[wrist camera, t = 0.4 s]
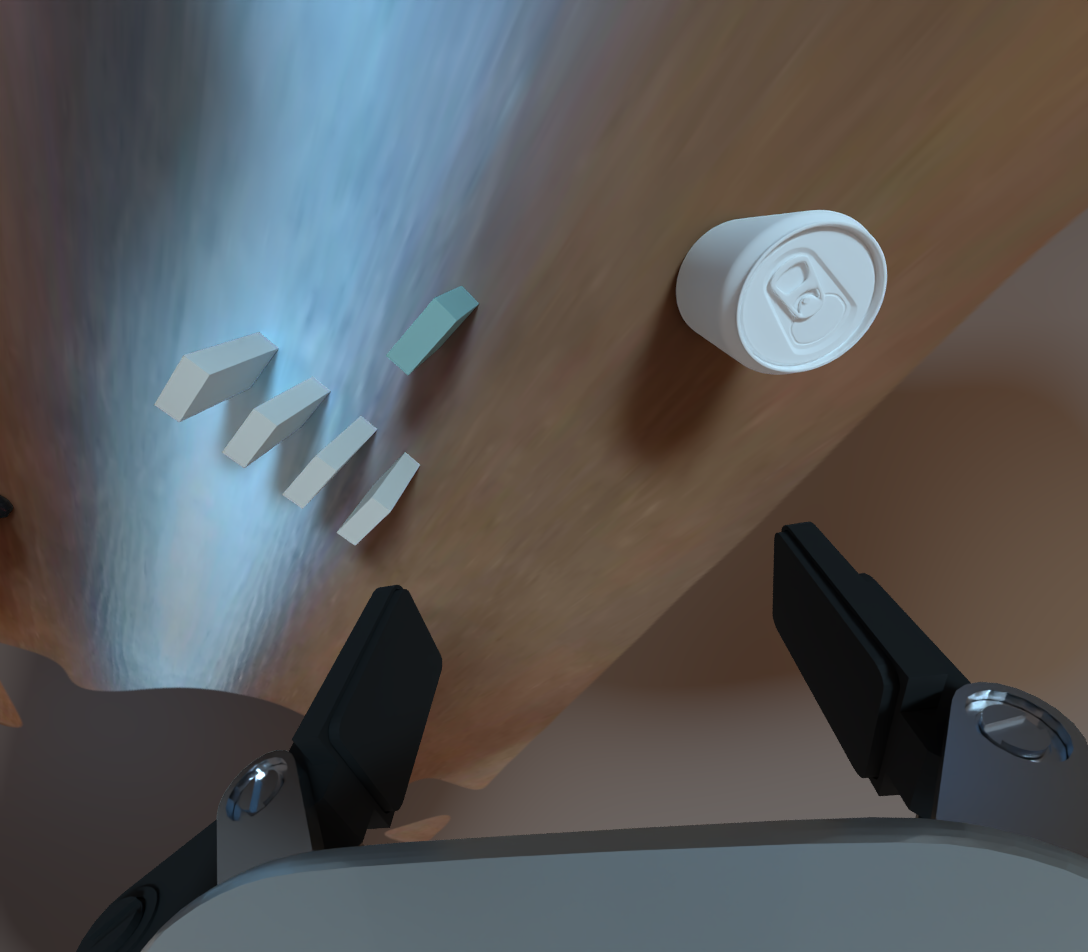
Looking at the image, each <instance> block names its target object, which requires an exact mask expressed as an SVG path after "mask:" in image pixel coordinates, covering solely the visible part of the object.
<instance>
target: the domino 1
mask: <svg viewBox="0 0 1088 952" xmlns="http://www.w3.org/2000/svg"><path fill="white" fill-rule="evenodd" d="M277 350H278V347H277V346H276V345H274V344H273V343H272V342H271V341H269V340H268V339H267V338H266V337H265V336H263V335H262V334H261V333H260V332H257V333H254V334H251V335H247V336H244V337H241V338H238V339H234V340H231V341H228V342H225V343H221V344H218V345H215V346H212V347H209V348H205V349H202V350H199V351H196V352H192V353H189V354H186V355H183V357H182V359H181V360H180V362H179V364H178V366H177V367H176V369H175V371H174V372H173V374H172V376H171V377H170V379H169V381H168V382H167V384H166V386H165V387H164V389H163V391H162V393H161V394H160V396H159V398H158V399H157V401H156V403H155V404H154V405H155V406H157V407H158V408H159V409H161V410H162V411H164V412H165V413H167V414H168V415H169V416H171V417H172V418H174V419H175V420H177V421H178V422H181V421H183V420H185V419H187V418H189V417H191V416H193V415H196V414H198V413H200V412H202V411H204V410H206V409H208V408H210V407H212V406H214V405H216V404H218V403H220V402H223V401H225V400H227V399H229V398H231V397H233V396H235V395H237V394H239V393H241V392H243V391H245V390H248V389H250V388H251V387H252V385H253V384H254V383H255V381H256V380H257V378H258V377H259V375H260V374H261V373H262V371H263V370H264V368H265V367H266V365H267V364H268V363H269V361H270V360H271V358H272V357H273V355H274V354H275V353H276V351H277Z"/></svg>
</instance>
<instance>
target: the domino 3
mask: <svg viewBox="0 0 1088 952" xmlns="http://www.w3.org/2000/svg"><path fill="white" fill-rule="evenodd" d="M376 430H377V429H376V428H375V427H374V426H373V425H371V424H370V423H369V422H368V421H366V420H365V419H364V418H363V417H362V416H360V417H359V418H358V419H357V420H356V421H354V422H353V423H352V424H351V425H350V426H349V427H348V428H346V429H345V430H344V431H343V432H342V433H341V434H340V435H338V436H337V437H336V438H335V439H334V440H333V441H332V442H330V443H329V444H328V445H327V446H326V447H325V448H324V449H323V450H321V451H320V452H319V453H318V454H317V455H316V456H315V457H314V458H313V459H312V460H311V462H310V463H309V464H308V465H307V466H306V467H305V469H304V470H303V471H302V472H301V473H300V474H299V476H298V477H297V478H296V479H295V480H294V481H293V483H292V484H291V485H290V486H289V487H288V488H287V490H286V491H285V492H284V493H283V494H282V495H283V496H285V497H286V498H288V499H289V500H291V501H292V502H293V503H295V504H296V505H298V506H299V507H301V508H302V509H303V508H304V507H305V506H306V505H307V504H308V503H309V502H310V501H311V499H312V498H313V497H314V496H315V495H316V494H317V493H318V492H319V491H320V490H321V489H322V488H323V487H324V486H325V485H326V484H327V483H328V482H329V481H330V480H331V479H332V478H333V477H334V476H335V475H336V474H337V473H338V471H339V470H340V469H341V468H342V467H343V466H344V465H345V464H346V463H347V462H348V461H349V460H350V459H351V458H352V457H353V456H354V454H355V453H356V452H357V451H358V450H359V449H360V448H361V447H362V446H363V445H364V443H365V442H366V441H367V440H368V439H369V438H370V437H371V436H372V435H373V434H374V433H375V431H376Z"/></svg>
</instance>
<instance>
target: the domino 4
mask: <svg viewBox="0 0 1088 952" xmlns="http://www.w3.org/2000/svg"><path fill="white" fill-rule="evenodd" d="M419 466H420V464H419V463H418V462H416V461H415V460H414V459H413V458H412V457H410V456H409V455H408V454H407V453H404V454H403V455H402V456H401V457H400V458H399V459H398V460H397V461H396V462H395V463H394V464H393V465H392V466H391V467H390V468H389V469H388V470H387V471H386V472H385V473H384V474H383V475H382V476H381V477H380V479H379V480H378V481H377V482H376V483H375V484H374V485H373V486H372V487H371V489H370V490H369V491H368V493H367V494H366V495H365V497H364V498H363V499H362V500H361V502H360V503H359V504H358V506H357V507H356V508H355V510H354V511H353V512H352V513H351V515H350V516H349V517H348V519H347V520H346V521H345V522H344V524H343V525H342V526H341V528H340V529H339V530H338V532H337V533H338V534H339V535H341V536H342V537H344V538H345V539H346V540H348V541H349V542H351V543H352V544H354V545H356V544H357V543H358V542H359V541H360V540H362V539H363V538H364V537H365V536H366V535H367V534H368V533H369V532H370V531H371V530H372V529H373V528H374V527H375V526H376V525H377V524H378V523H379V522H380V521H381V520H382V519H383V518H385V517H386V516H387V515H388V514H389V513H390V512H391V510H392V509H393V507H394V506H395V504H396V502H397V501H398V499H399V498H400V496H401V495H402V493H403V491H404V490H405V488H406V487H407V485H408V483H409V482H410V480H411V479H412V477H413V476H414V474H415V472H416V471H417V469H418V468H419Z"/></svg>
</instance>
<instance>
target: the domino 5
mask: <svg viewBox="0 0 1088 952" xmlns="http://www.w3.org/2000/svg"><path fill="white" fill-rule="evenodd" d="M478 304H479V303H478V302H477V301H476V300H475V299H474V298H473V297H472V296H471V295H470V294H469V293H468V292H467V291H466V290H465V289H464V288H463V286H460V287H458V288H455V289H453V290H451V291H449V292H446V293H444V294H442V295H440V296H438V297H435V298H434V299H433V300H432V301H431V302H430V304H429V305H428V306H427V307H426V308H425V310H424V311H423V312H422V313H421V314H420V316H419V317H418V318H417V319H416V320H415V321H414V323H413V324H412V325H411V326H410V327H409V329H408V330H407V331H406V332H405V333H404V335H403V336H402V337H401V338H400V339H399V341H398V342H397V343H396V344H395V345H394V346H393V348H392V349H391V350H390V351H389V352H388V354H387V355H386V356H387V357H388V358H389V359H390V360H391V361H393V362H394V363H395V364H396V365H397V366H398V367H399V368H400V369H401V370H403V371H404V372H405V373H406V374H407V375H409V374H410V373H412V372H413V371H414V370H415V369H416V368H417V367H418V366H420V365H421V364H422V363H423V362H424V361H425V360H426V359H428V358H429V357H430V356H431V355H432V354H433V353H434V352H436V351H437V350H438V349H439V348H440V347H441V346H442V345H443V343H444V342H445V341H446V340H447V339H448V338H449V337H450V336H451V335H452V333H453V332H454V331H455V330H456V329H457V328H458V327H459V326H460V324H461V323H462V322H463V321H464V320H465V319H466V318H467V317H468V316H469V314H470V313H471V312H472V311H473V310H474V309H475V308H476V307H477V306H478Z"/></svg>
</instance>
